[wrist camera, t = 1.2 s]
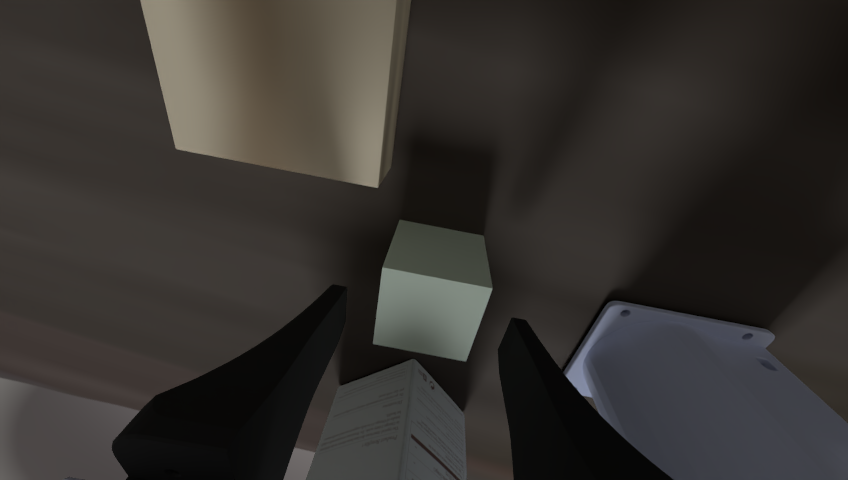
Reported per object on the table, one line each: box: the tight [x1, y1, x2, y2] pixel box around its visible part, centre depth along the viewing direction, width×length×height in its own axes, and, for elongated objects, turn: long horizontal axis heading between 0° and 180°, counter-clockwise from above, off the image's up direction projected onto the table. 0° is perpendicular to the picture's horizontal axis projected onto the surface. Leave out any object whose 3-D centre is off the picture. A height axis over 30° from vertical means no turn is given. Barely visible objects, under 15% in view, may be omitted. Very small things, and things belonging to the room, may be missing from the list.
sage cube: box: [373, 220, 493, 362], centre depth 15 cm, size 4×4×4 cm
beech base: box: [140, 0, 411, 188], centre depth 11 cm, size 8×8×3 cm
